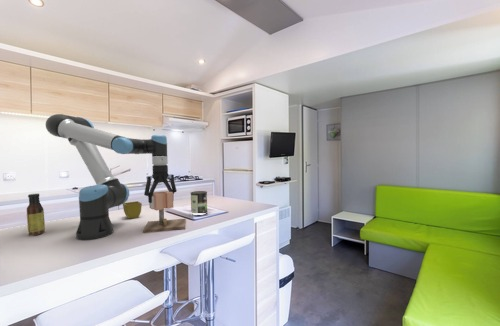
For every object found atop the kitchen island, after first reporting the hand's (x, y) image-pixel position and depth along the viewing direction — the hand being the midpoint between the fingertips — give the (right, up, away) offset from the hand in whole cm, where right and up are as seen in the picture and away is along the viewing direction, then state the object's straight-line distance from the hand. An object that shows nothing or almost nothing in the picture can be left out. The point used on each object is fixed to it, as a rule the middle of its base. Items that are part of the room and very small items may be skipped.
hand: (161, 207), depth 124 cm
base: (+2, -10, +1) cm, 11 cm away
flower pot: (-25, -10, +20) cm, 34 cm away
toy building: (0, 0, 0) cm, 0 cm away
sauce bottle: (-59, -12, -8) cm, 60 cm away
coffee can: (+14, -10, +27) cm, 32 cm away
